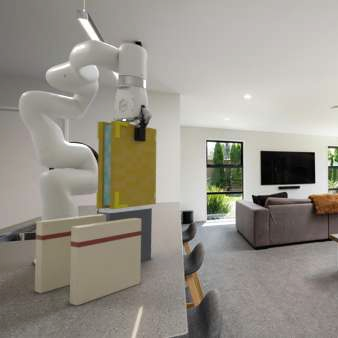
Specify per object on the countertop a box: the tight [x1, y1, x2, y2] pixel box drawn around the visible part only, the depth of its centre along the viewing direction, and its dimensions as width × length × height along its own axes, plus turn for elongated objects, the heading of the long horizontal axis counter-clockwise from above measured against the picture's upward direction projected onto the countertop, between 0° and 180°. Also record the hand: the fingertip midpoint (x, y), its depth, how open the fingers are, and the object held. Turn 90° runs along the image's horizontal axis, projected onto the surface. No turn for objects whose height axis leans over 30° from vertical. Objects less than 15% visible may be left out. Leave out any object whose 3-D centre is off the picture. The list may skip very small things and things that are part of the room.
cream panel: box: [69, 218, 142, 306], centre depth 74 cm, size 3×15×18 cm, turn 156°
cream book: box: [34, 213, 106, 294], centre depth 80 cm, size 3×15×18 cm, turn 156°
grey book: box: [104, 207, 153, 262], centre depth 97 cm, size 3×14×18 cm, turn 156°
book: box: [95, 120, 157, 210], centre depth 90 cm, size 17×7×25 cm, turn 168°
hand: (131, 141), depth 90 cm, fingers closed on book, 7 cm apart
